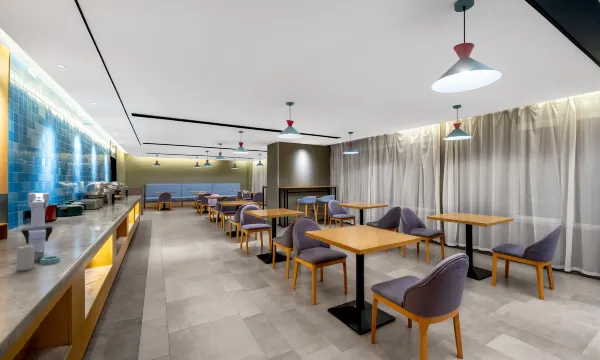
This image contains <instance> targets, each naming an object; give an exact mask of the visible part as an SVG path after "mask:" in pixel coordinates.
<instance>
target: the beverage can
mask: <svg viewBox="0 0 600 360" xmlns="http://www.w3.org/2000/svg"><path fill="white" fill-rule="evenodd" d="M15 264H16V265H15V270H16V271H18V272H24V271H29V270H32V269H33V268H34V266H35V262H34V247H33V246H29V245H22V246H19V247H17V249H16V263H15Z"/></svg>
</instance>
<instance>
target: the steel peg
mask: <svg viewBox="0 0 600 360" xmlns="http://www.w3.org/2000/svg"><path fill="white" fill-rule="evenodd" d="M44 257H45V256H44V250H37V251H34V263H40V262H41V258H44Z"/></svg>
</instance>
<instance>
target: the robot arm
mask: <svg viewBox="0 0 600 360" xmlns="http://www.w3.org/2000/svg"><path fill="white" fill-rule="evenodd" d="M27 198H28V200H27V203H28V207H30V213H31V215H30V216H31V218H30V226H26V227H20V228H19V229H18V232H19V233H20V234H21V233H22V235H23V236H24V239H25V244H26V245H28V246H33V247H34V251H37V250H44V257H46V255H47V253H48V252H47V251H46V242H48V240H49V237H50V236H51V234H52V233H53V232H54V229H55V230H56V225H55V224H46V219H45V218H46V210H47V207H48V205H49V201H50V193H49V192H29V193H28V197H27Z"/></svg>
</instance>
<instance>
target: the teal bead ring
mask: <svg viewBox="0 0 600 360" xmlns="http://www.w3.org/2000/svg"><path fill="white" fill-rule="evenodd" d="M60 261H61V256H60V255H50V256H44V258H41V262H39V263H40V265H53V264H57V263H60Z"/></svg>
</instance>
